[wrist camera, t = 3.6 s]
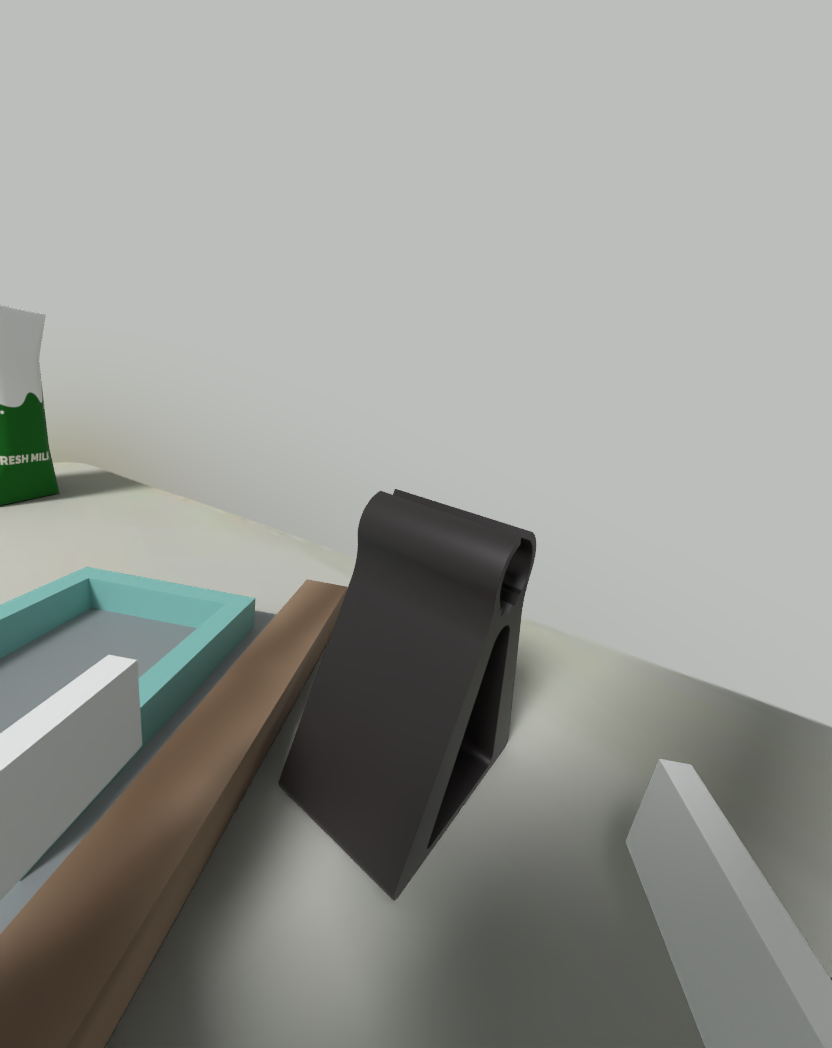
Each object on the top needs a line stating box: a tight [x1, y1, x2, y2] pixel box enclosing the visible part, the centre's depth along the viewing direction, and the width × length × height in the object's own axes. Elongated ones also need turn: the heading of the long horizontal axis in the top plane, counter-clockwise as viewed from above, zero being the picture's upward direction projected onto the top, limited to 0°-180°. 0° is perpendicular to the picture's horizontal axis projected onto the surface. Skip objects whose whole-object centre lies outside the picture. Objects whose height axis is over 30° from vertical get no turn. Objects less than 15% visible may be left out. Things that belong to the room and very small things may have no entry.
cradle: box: [0, 567, 276, 934], centre depth 19 cm, size 13×18×3 cm
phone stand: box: [279, 489, 536, 900], centre depth 17 cm, size 9×6×12 cm, turn 143°
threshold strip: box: [0, 580, 348, 1048], centre depth 19 cm, size 3×24×2 cm, turn 174°
